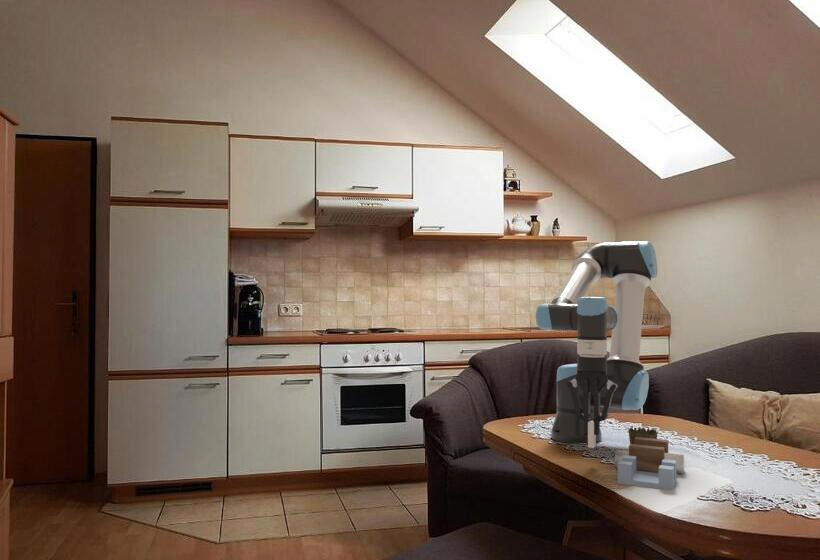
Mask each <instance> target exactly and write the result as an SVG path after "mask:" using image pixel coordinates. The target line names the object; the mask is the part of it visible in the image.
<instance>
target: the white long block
mask: <svg viewBox="0 0 820 560" xmlns="http://www.w3.org/2000/svg"><path fill="white" fill-rule="evenodd" d="M623 455H629V448H621V447H616V448H615V453H614V466H615V468H617V469H618V462H619V461H622V457H623ZM665 459H667V460H676V473H677V475H684V473H685V455H684V454H680V453H671V452H670V453H669V452H668V453H665Z"/></svg>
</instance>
